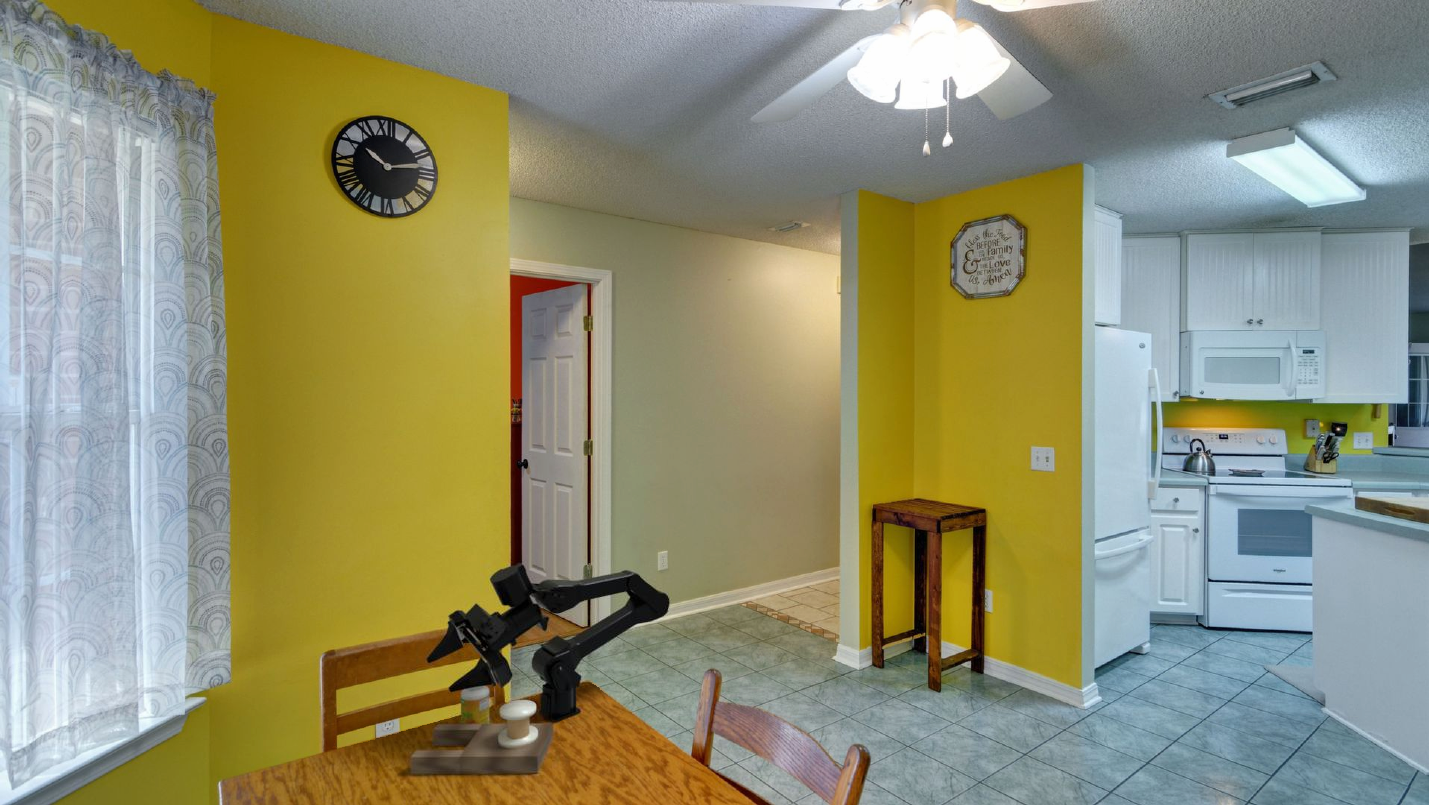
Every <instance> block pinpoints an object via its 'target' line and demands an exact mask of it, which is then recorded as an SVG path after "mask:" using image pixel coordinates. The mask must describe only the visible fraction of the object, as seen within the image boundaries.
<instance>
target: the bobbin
mask: <svg viewBox="0 0 1429 805" xmlns="http://www.w3.org/2000/svg"><path fill="white" fill-rule="evenodd" d="M536 712H537V704H536V703H535V702H534V701H532V700H529V699H528V700H527V699H517V700H516V699H515V700H513V701H509V702H506V703H504V704H503V705H501V707H500V708H499V716H500V717H501V719H504V720H506V724H507V728H506V729H504V730H503V731H501V732H500V733H499V735H498V744H499V745H500V746H501V747H503V748H506V749H519V748H524V747H527V746H530V745H532V744H533V743H535V742H536V741H537V739H538V730H537V728H536V727H534V726H531V725H530V724H531V723H530V717H532V716H534V714H535V713H536Z"/></svg>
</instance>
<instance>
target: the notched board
mask: <svg viewBox="0 0 1429 805" xmlns="http://www.w3.org/2000/svg"><path fill="white" fill-rule="evenodd" d="M530 725H531V726H534V727H536V728H537V730H538V739H537V741H536V742H535V743H533V744H532V745H530V746H527V747H524V748H519V749H506V748H503V747H501V746H500V745H499V744H498V735H499V733H500V732H501V731H503V730H504V729H506V728H507V723H489V724H461V723H457V724H455V723H451V724H450V723H448V724H447V723H444V724H443V723H441V724H440V723H438V724H437V725H436V726H435V727H434V728H433V729H432V730H433V732H432V746H433V747H452V746H453V747H457V746H458V747H461V746H462V747H464V746H466V747H465V748H464V749H457V750H456V749H454V750H453V749H448V750H445V749H444V750H443V749H442V750H437V749H436V750H435V749H433V750H432V749H431V750H429V749H428V750H415V751H414V752H413V754H412V755H410V775H486V774H487V775H489V774H490V775H494V774H495V775H496V774H497V775H500V774H501V775H502V774H506V775H508V774H509V775H511V774H512V775H514V774H517V775H518V774H521V775H522V774H523V775H525V774H538V773H539V771H540V769H541V766H542V765H543V762H544V760H545V758H546V756H547V753H548V751H549V749H550V747H551V744H552V743H553V740H554V722H552V723H530Z"/></svg>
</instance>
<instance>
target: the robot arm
mask: <svg viewBox="0 0 1429 805" xmlns="http://www.w3.org/2000/svg"><path fill="white" fill-rule="evenodd" d="M489 581H490V583H491V586H492V587H493V589H494V592H495V594H496V595H497V598H498V600H499V601H500V603H501V605H502V606H505V607H506V606H507V607H509V609H507V610H505V611H504V612H503V613H500V612H499V611H494V612H492V613H489V612H488V611H487V610H486V609H484V608H483V607H481V606H480V605H479V604H478V603H477V602H476V603H475V604H474V605H473V606H472V607H471V608H470V609H468V611H467V612H466V613H465V612H464V610H459V609H458V610H455V611H453V612H451V613H450V614H449V615H448V616H447V617H448V619H449V620H448V621H447V623H446V624H447V626H448V627H447V629H446V633H445V634H444V636H443V637H442V639H441V640H440V642H439V643H438V644H437V645H436V647H434V649H432V651H431V652H430V654H428V656H427V657H426V662H427V664H431V663H433V662H436V661H438V660H441V659H443V658H444V657H446V656H448V655H451V654H453V653H454V652H458V651H459V650H461V649H463V648H464V645H463V644H469V643H470V645H471V646H472V647H473V648H474V649H475V651H476V652H477V653H478V654H479V656H481V657H480V658H478V661H477V663H476V665H475V666H474V667H472V668H471V669H470V670H469V671H468V672H466V673H465V674H463V675H462V676H460V677H459V678H458V679H457V680H455V681H454V682H453V683H452V684H451V685H450V686H448V691H449V692H450V693H454V692H459V691H463V690H464V689H468V688H473V687H479V686H492V687H493V688H494V687H496V686H499V687H500V688H501V689H502V688H504V687H505V686H506V685H508V684H509V683H510V681H511V680H512V678H513V673H512V669H511V667H510V663H509V662H508V660H507V658H506V657H505V656H504V655H503V653H502V652H500V651H501V650H503V649H505V648H506V647H507V646H509V645H510V646H511V647H512V648H513V647H515V646H516V645H518V644H517V639H519V638H520V637H522V635H524V634H526V633H527V632H528V631H530V630H531V629H533V628H535V626H536V627H537V628H538V629H541V630H542V631H543V632H546V631H547V629H548V623H549V620H550V617H549V616H547V615H546V614H543V611H542V609H541V608H543V609H544V610H546V611H548V612H549V613H552V614H558V615H559V614H562V613H563V612H566V611H569V610H571V609H573V608H575V607H576V606H578V605H579V604H581V603H582V602H586V601H588V600H589V601H590V600H593V599H599V598H602V597H608V596H612V595H618V594H621V593H626V594H627V596H629V598H628V600H627V602H626V603H625V605H624V606H622V607H621V608H620V609H618V610H616V611H614V612H613V613H611V614H610V615H608V616H606V617H604V618H603V619H601V620H599V621H598V622H596V623H595V624H592V625H591V626H589V627H588V628H586V629H584V630H582V632H580V633H578V634H577V635H575V636H573V637H571V638H569V639H564V638H563V637H562V636H559V635H555V636H553V637H552V638H551V639H550V640H548V641H547V642H544V643H540V644H539V645H540V647H539V648H538V649H536V651H535V652H534V653H533V656H532V659H531V668H532V670H533V672H534V673H536V674H537V675H538V677H539V679H540V680H542V681H544V682H545V683H544V684H542V693H540V708H539V709H538V710H537V713H538V714H540V715H541V716H544V717H546V718H547V720H550V721H551V722H552V723H556V722H559V721H562V720H564V719H567V718H569V717H572V716H574V715H577V714H579V713H581V710H582V709H580V708H579V707H577V688H579V686H580V683H581V681H582V675H581V674H580V673H578V672H577V671H576V669H577V668H578V666H579V665H580V662H582V660H583V659H584V658H585V657H587V656H588V655H590V654H591V653H594V652H595V651H597V650H598V649H600V648H601V647H603V646H604V645H606V644H608V643H609V642H610V641H612V640H614V639H615V638H617V637H619V636H621V635H622V634H623V633H624V634H625V632H626V631H628V630H630V629H631V628H633V627H635V626H637V625H640V624H646V623H651V622H654V621H657V620H659V619H661V618H664V616H666V615H667V614H668V612H669V608H670V598H669V595H668V594H667V593H666V592H663V591H661V590H658V589H656V588H655V587H654V586H652V585H651V584H650V583H648V582H647V581H646V580H644V578H643V577H641V575H640V574H639V573H636V572H634V571H631V570H628V569H624V570H621V571H620V572H615V573H614V572H613V573H610V574H609V573H608V574H603V575H600V576H594V577H589V578H583V579H578V580H569V579H544V580H542V581H540V583H538V582H537V583H536V582H535V583H534V582H532V581H531V580H530V577H529V576H528V573H527V570H526V567H525V565H524V564H523V563H520V562H518V563H516V564H515V565H510V566H507V567H504V568H500V569H499V570H497V571H496V572H494V573H493V574H492V575H491V576H490V578H489ZM532 598H534V601H535V602H536V603H535V602H533V600H532ZM540 607H541V608H540Z"/></svg>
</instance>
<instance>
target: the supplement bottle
mask: <svg viewBox="0 0 1429 805" xmlns="http://www.w3.org/2000/svg"><path fill="white" fill-rule="evenodd" d="M460 724H490V688H489V687H488V685H486V686H479V687H473V688H468V689H464V690H461V692H460Z"/></svg>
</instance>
